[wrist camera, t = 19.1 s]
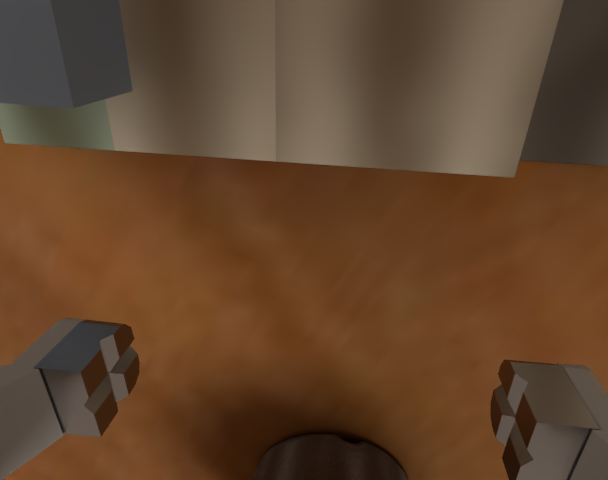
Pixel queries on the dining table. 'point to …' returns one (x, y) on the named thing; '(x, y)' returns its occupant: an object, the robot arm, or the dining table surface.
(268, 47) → the wooden cutout board
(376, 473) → the plant pot
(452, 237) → the dining table surface
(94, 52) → the slate block
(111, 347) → the robot arm
